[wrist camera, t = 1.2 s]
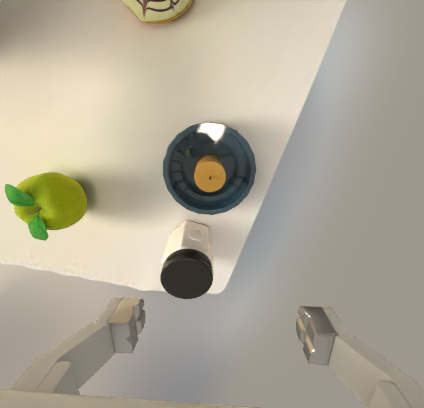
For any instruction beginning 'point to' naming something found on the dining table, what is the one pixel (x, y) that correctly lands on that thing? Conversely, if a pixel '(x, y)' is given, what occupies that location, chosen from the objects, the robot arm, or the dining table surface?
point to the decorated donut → (158, 9)
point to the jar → (188, 261)
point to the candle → (209, 173)
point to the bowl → (187, 160)
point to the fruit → (48, 202)
